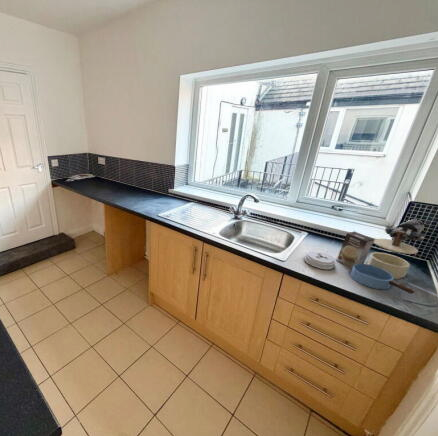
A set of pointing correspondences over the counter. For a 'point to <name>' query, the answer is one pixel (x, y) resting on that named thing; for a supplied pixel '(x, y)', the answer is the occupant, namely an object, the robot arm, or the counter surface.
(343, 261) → the coffee box
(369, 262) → the pot
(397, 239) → the pot lid
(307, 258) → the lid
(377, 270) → the pan
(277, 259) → the counter surface
